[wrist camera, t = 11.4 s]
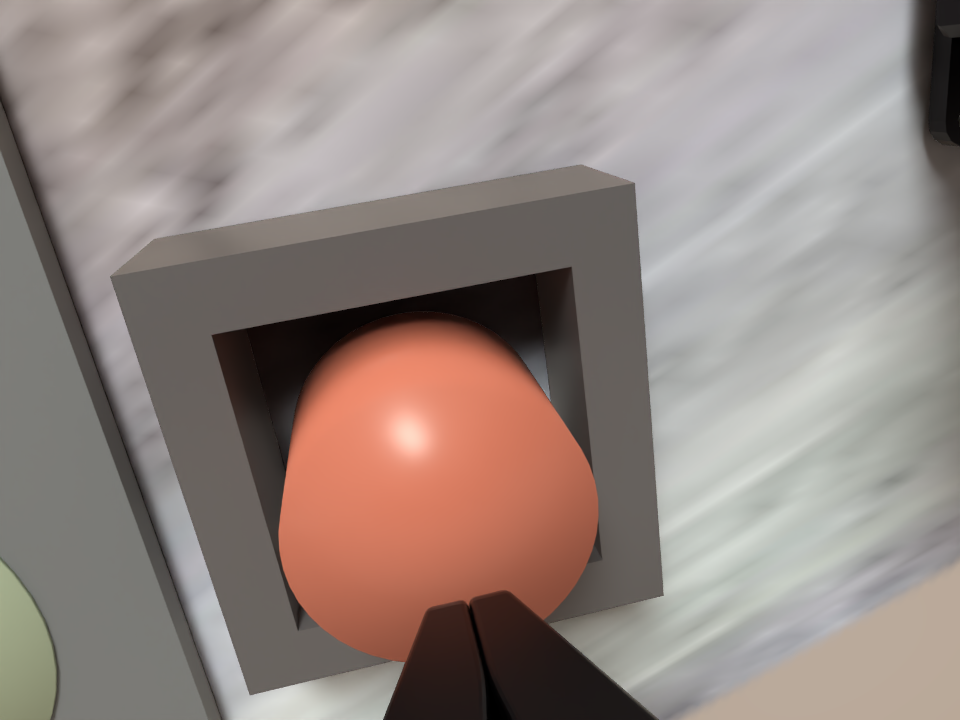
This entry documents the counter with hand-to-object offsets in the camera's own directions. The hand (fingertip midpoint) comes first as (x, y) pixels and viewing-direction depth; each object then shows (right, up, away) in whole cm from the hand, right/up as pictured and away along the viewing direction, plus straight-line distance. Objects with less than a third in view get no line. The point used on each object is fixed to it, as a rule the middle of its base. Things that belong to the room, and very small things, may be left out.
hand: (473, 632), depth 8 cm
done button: (-1, +2, +5) cm, 5 cm away
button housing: (-1, +2, +6) cm, 6 cm away
